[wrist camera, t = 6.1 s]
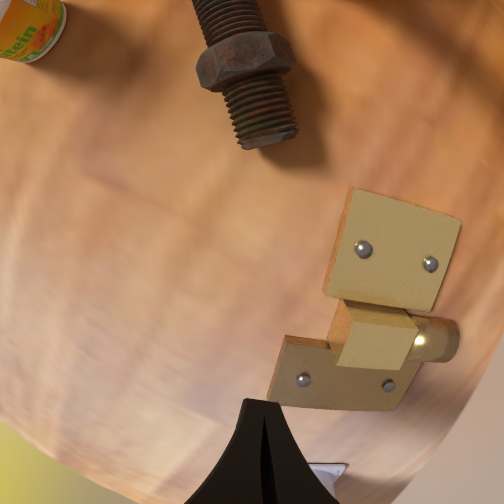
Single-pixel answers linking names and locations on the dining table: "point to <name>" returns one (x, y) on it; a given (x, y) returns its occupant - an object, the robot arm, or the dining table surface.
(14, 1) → the supplement bottle
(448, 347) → the fixed leaf
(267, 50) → the bolt
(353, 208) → the loose leaf
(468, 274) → the dining table surface
